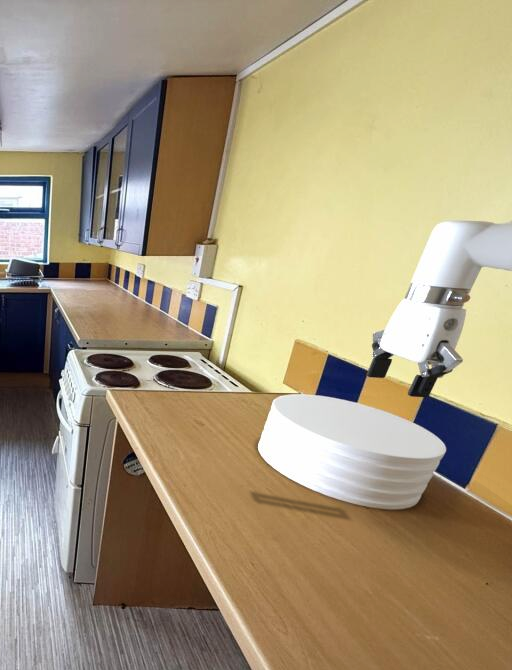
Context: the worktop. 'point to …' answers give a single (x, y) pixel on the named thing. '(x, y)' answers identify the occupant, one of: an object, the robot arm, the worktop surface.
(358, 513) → the worktop surface
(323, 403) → the plate stack
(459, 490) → the worktop surface
